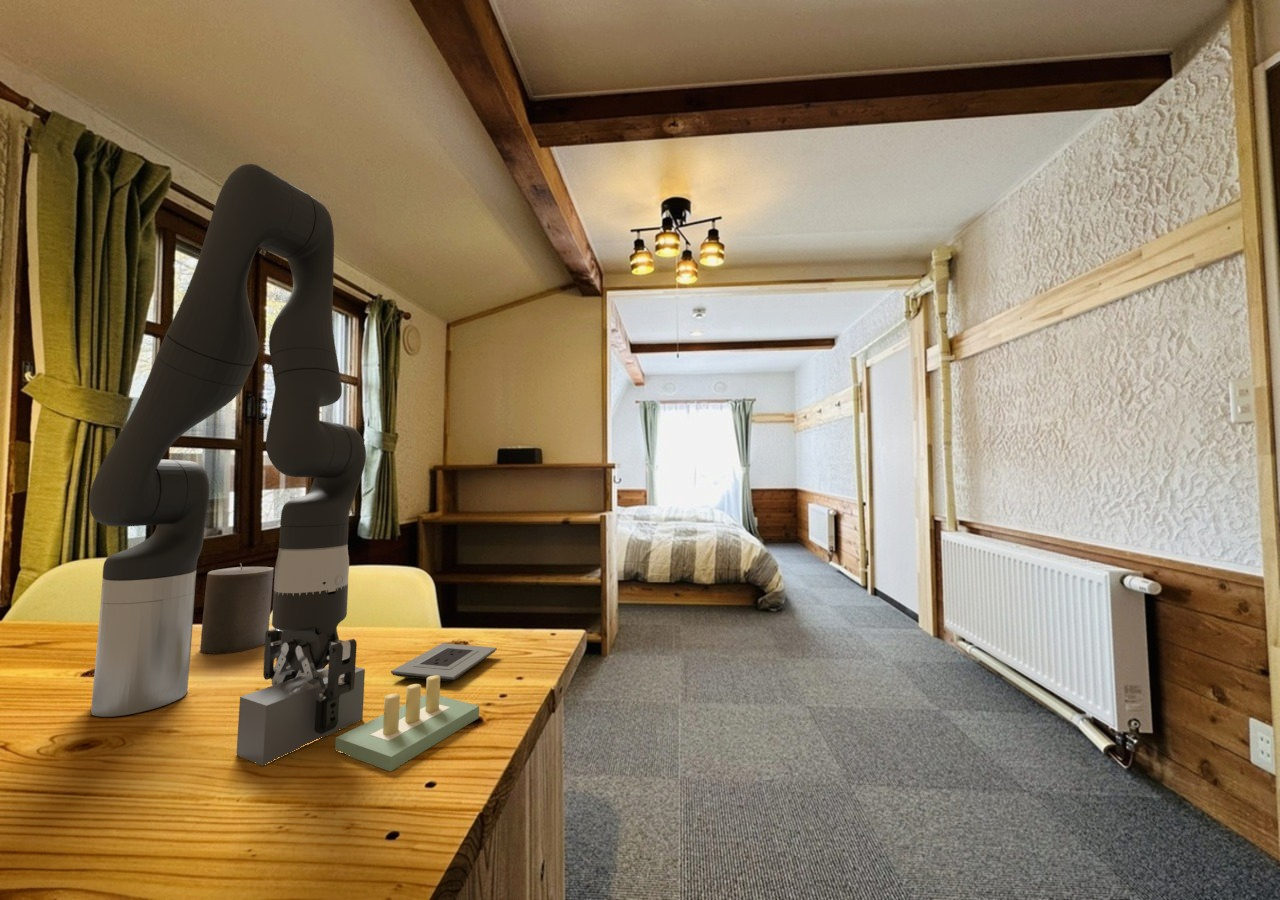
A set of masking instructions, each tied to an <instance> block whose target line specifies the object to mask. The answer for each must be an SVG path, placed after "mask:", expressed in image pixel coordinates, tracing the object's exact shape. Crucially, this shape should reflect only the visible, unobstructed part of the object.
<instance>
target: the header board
mask: <svg viewBox="0 0 1280 900" xmlns="http://www.w3.org/2000/svg"><path fill="white" fill-rule="evenodd" d="M425 689H426V690H425V694H423V695H422V694H421V692H422V685H421V684H419V683H413V684H409V685H407V686H406V695H405V703H404V704H402V705H400V703H401V694H399V693H390V694H387V695H385V696H384V699H383V701H384V702H383V714H382V715H380V716H377V717H375V718H374V719H371V720H369V721H367V722H365V723H363V724H361V725H359V726H357V727H354V728H353V729H351V730H349V731H346V732H345V733H343V734H342V733H341V734H340V735H338V736H336V737H335V747H334V751H335V750H337V751H341V752H343V753H346V754H347V755H350V756H351V757H350V758H352V757H353V758H352V759H355V758H356V759H355V760H359V761H361V762H364V763H366V764H368V765H372V766H375V767H377V768H379V769H383V770H385V771H388V772H392V771H394V770H396V769H398V768H399V767H401V766H403V765H404V764H406V763H407V762H409V761H410V760H412V759H414V758H416V757H417V756H419V755H421V754H422V753H424V752H425V751H426V750H429V749H430V748H431V747H433V746H435V745H437V744H438V743H440V742H441V741H444V740H445V739H446V738H449V736H451V735H453V734H455V733H456V732H458V731H459V730H462V729H464V727H466V726H468V725H469V724H471V723H473V722H475V721H476V720H478V719H479V718H480V705H477V704H474V703H469V702H466V701H462V700H458V699H454V698H450V697H447V696H443V695H442V696H441V695H440V691H441V681H440V676H438V675H434V676H430V677H428V678H427V679H426V688H425ZM421 695H422V696H421ZM347 755H346V756H347ZM408 760H409V761H408ZM405 762H406V763H405ZM400 765H401V766H400Z"/></svg>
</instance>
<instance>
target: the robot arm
mask: <svg viewBox="0 0 1280 900" xmlns="http://www.w3.org/2000/svg"><path fill="white" fill-rule="evenodd" d="M214 205H215V206H214V208H213V211H212V215H211V217H210V220H209V224H208V226H207V227H208V228H207V230H206V234H205V237H204V241H203V244H202V248H201V250H200V253H199V257H198V260H197V263H196V267H195V269H194V272H193V274H192V276H191V278H190V281H189V284H188V286H187V288H186V290H185V293H184V296H183V297H182V300H181V302H180V305H179V307H178V309H177V312H176V313H175V315H174V317H173V319H172V321H171V323H170V325H169V327H168V329H167V331H166V333H165V335H164V338H163V339H162V342H161V344H160V347H159V349H158V351H157V354H156V356H155V358H154V362H153V364H152V367H151V369H150V373H149V375H148V377H147V379H146V382H145V384H144V386H143V388H142V391H141V394H140V395H139V397H138V400H137V402H136V403H135V405H134V408H133V410H132V412H131V414H130V416H129V418H128V420H127V421H126V423H125V424H124V426H123V428H122V430H121V431H120V433H119V434H118V436H117V438H116V440H115V441H114V442H113V445H112V446H111V448H110V450H109V451H108V453H107V455H106V457H105V459H104V460H102V461H103V462H102V463H101V465H100V466H99V469H98V470H97V472H96V475H95V477H94V480H93V482H92V485H91V488H90V493H89V497H88V500H89V501H88V502H89V503H88V504H89V505H88V506H89V511H90V515H91V516H92V518H93V519H94V520H95V521H96V522H97V523H99V524H101V525H103V526H107V527H118V528H119V527H123V528H124V527H140V526H141V527H142V526H156V528H155V530H154V532H153V533H152V534H151V536H149V537H148V538H147V539H145V540H143V541H142V542H140V543H138V544H136V545H134V546H132V547H129V548H126V549H124V550H121V551H118V552H115V553H113V554H111V555H110V556H108V557H107V558H106V559H105V561H104V562H103V567H102V582H101V594H100V595H101V596H100V608H99V617H98V619H99V620H98V629H97V641H96V651H95V653H96V655H95V664H94V678H93V684H92V697H91V708H90V709H91V710H90V713H91V715H93V716H95V717H100V718H101V717H102V718H103V717H104V718H105V717H106V718H109V717H110V718H111V717H120V716H122V717H123V716H127V715H132V714H133V715H134V714H138V713H142V712H146V711H151V710H154V709H157V708H161V707H163V706H166V705H169V704H171V703H173V702H176V701H177V700H180V699H182V698H183V697H185V696H186V695H187V693H188V691H189V689H188V688H189V676H190V664H191V654H192V653H191V652H192V638H193V636H192V635H193V625H194V609H195V598H196V597H195V596H196V595H195V594H196V582H197V581H196V580H197V566H198V559H199V556H200V554H201V552H202V549H203V545H204V537H205V530H206V521H207V516H208V515H207V514H208V509H209V501H210V482H209V477H208V474H207V471H206V470H205V468H204V467H203V465H201V464H200V463H198V462H196V461H192V460H183V459H182V460H181V459H164V456H165V455H166V453H167V452H168V450H169V449H170V448H171V447H172V446H173V444H174V443H175V442H176V441H177V440H178V439H179V438H180V437H182V436H183V435H184V434H185V433H186V432H188V431H189V430H190V429H192V428H193V427H195V426H197V425H198V424H199V423H201V422H203V421H204V420H206V419H208V418H209V417H211V416H212V415H214V414H216V413H217V412H218V411H220V410H221V409H222V408H224V407H225V406H227V405H228V404H230V402H231V401H233V400H234V399H235V398H236V397H237V396H238V395H239V394H240V392H241V391H242V390H243V388H244V386H245V384H246V382H247V379H248V377H249V375H250V373H251V371H252V368H253V366H254V365H255V362H256V360H257V357H258V355H259V350H260V346H259V345H260V344H259V343H260V342H259V336H258V332H257V327H256V324H255V320H254V317H253V316H254V315H253V312H252V308H251V306H250V305H251V304H250V301H249V297H248V295H249V294H248V280H249V279H248V277H249V274H250V270H251V266H252V262H253V260H254V257H255V254H256V253H257V250H258V249H259V248H260V249H262V250H265V251H267V252H269V253H272V254H274V255H276V256H278V257H280V258H282V259H285V260H287V262H288V265H289V268H290V272H291V276H292V277H291V278H292V289H291V293H290V295H289V297H288V299H287V301H286V302H285V304H284V306H283V307H282V308H281V310H280V312H279V313H278V314H277V317H276V318H275V319H274V322H273V324H272V326H271V330H270V333H269V338H268V339H269V340H268V346H269V347H268V348H269V350H268V351H269V357H270V363H271V370H272V375H273V376H272V377H273V382H274V388H275V389H274V395H273V401H272V404H271V410H270V417H269V422H268V427H267V430H266V431H267V432H266V438H265V450H266V453H267V456H268V458H269V461H270V463H271V464H272V465H273V467H274V468H275V469H276V471H278V472H279V473H281V474H283V475H285V476H287V477H292V478H313V481H312V484H311V487H310V489H309V491H308V493H306V494H305V495H303V496H301V497H296V498H293V499H291V500H288V501H287V502H285V504H284V505H283V506H282V509H281V513H280V524H279V525H280V526H279V539H278V540H279V542H278V554H277V558H276V562H275V567H274V581H273V582H274V583H273V599H272V601H273V602H272V615H271V619H272V620H271V626H272V629H269V630H267V631H266V633H265V644H264V652H263V653H264V655H263V678H264V680H266V681H267V680H271V686H273V685H276V684H279V683H282V682H285V681H288V680H291V679H294V678H297V677H299V676H300V674H301V672H303V673H305V676H306V680H307V682H308V683H309V684H312V685H313V686H314V690H315V693H316V696H317V699H318V700H317V701H316V713H315V732H316V733H319V734H323V733H325V732H327V731H329V730H332V729H334V728H335V727H336V725H337V722H338V711H339V697H340V695H342V694H344V693H347V692H350V691H352V690H353V689H354V682H355V667H356V664H357V663H356V661H357V645H358V644H357V643H358V642H357V641H356V639H355V638H350V639H348V640H341V639H340V638H339V635H338V626H339V624H340V623H341V622H342V621H344V620H345V619H346V617H347V616H348V615H347V614H348V599H349V598H348V595H349V594H348V593H349V573H350V556H349V549H348V547H349V545H348V542H349V527H350V526H349V525H350V524H349V521H350V518H349V517H350V511H351V509H352V508H351V507H352V505H353V502H354V500H355V497H356V494H357V491H358V488H359V485H360V482H361V480H362V479H361V478H362V475H363V472H364V470H365V467H366V466H365V465H366V460H367V451H366V444H365V442H364V440H363V439H364V438H363V437H362V435H361V434H360V432H359V431H358V430H356V429H355V428H354V427H352V426H350V425H348V424H343V423H337V422H329V421H323V420H320V419H319V409H320V408H323V407H326V406H330V405H332V404H335V403H337V402H338V401H339V400H340V398H341V397H342V393H343V391H342V388H343V387H342V379H341V374H340V368H339V361H338V356H337V348H336V343H335V335H334V324H333V306H334V305H333V304H334V303H333V299H334V297H333V295H334V276H335V275H334V272H335V271H334V268H335V267H334V266H335V265H334V263H335V262H334V261H335V232H334V226H333V225H334V224H333V221H332V217H331V214H330V212H329V210H328V209H327V207H326V206H325V205H324V204H323V203H322V202H320V201H319V200H318V199H316V198H315V197H314V196H312V195H311V194H309V193H308V192H305V191H304V190H303V189H301V188H299V187H297V186H295V185H294V184H293V183H290V182H289V181H287V180H285V179H284V178H281V177H280V176H278V175H277V174H276V173H273V172H271V171H270V170H268V169H266V168H264V167H262V166H260V165H257V164H255V163H246V164H242V165H240V166H238V167H237V168H236V169H235V170H233V172H231V173H229V176H228V177H227V179H226V180H225V182H224V183H223V185H222V186H221V190H220V192H219V194H218V197H217V199H216V201H215V204H214ZM277 657H279V658H278V660H277V663H276V662H275V660H276V658H277ZM274 663H275V665H274ZM327 666H328V667H329V669H326V670H324V671H321V672H318V671H317V670H320V669H323V668H326V667H327ZM342 674H344V682H343V683H342V680H341V677H340V675H342ZM325 678H328V685H327V688H325V684H324V681H323V679H325Z"/></svg>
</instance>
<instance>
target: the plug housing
mask: <svg viewBox="0 0 1280 900" xmlns="http://www.w3.org/2000/svg"><path fill="white" fill-rule="evenodd" d="M326 669H329V666H325V668H323V669H320V670H317V671H318V672H321V671H324V670H326ZM340 677H341V680H342V683H343V682H344V674H342V675H340ZM365 677H366V669H365V668H363V667H358V666H355V682H354V689H353V690H352V691H350V692H347V693H344V694H342V695H340V697H339V711H338V722H337V725H336V727H335V728H334V729H332V730H329V731H327V732H325V733H323V734H319V733H316V732H315V713H316V701H317V700H318V699H317V696H316V693H315V690H314V686H313V685H312V684H309V683H308V682H307V680H306V676H305V675H302V676H299V677H297V678H294V679H291V680H288V681H285V682H282V683H279V684H276V685H273V686H272V685H271V686H267V687H264V688H262V689H258V690H256V691H253V692H250V693H247V694H244V695H241V696H239V706H238V707H239V709H238V720H237V721H238V722H237V738H236V753H235V754H237V755H239V756H241V757H243V758H242V759H244V758H245V759H244V760H246V759H248V760H250V761H249V762H251V761H252V762H251V763H253V762H254V763H253V764H255V762H256V763H257V764H256V765H258V764H260V765H262V766H263V765H265V764H267V763H268V762H271V761H273V760H274V759H277V758H278V757H281V756H283V755H285V754H287V753H290V752H292V751H294V750H296V749H298V748H300V747H301V746H303V745H305V744H307V743H310V742H312V741H314V740H316V739H319V738H321V737H324V736H327V735H329V736H331V735H333V734H335V733H337V732H339V731H338V730H339V729H342V730H344V729H345V727H346V728H348V727H349V726H348V725H350V726H352V725H354V724H356V723H355V722H357V721H359V720H361V719H363V718H364V717H363V716H364V701H365V700H364V696H365V694H364V693H365ZM323 681H324V684H325V688H327V685H328V678H325V679H323ZM361 721H362V720H361ZM359 722H360V721H359ZM353 723H354V724H353ZM357 723H358V722H357ZM351 724H352V725H351ZM347 726H348V727H347ZM343 728H344V729H343ZM336 731H337V732H336ZM334 732H335V733H334ZM332 733H333V734H332ZM330 734H331V735H330ZM327 737H328V736H327ZM237 755H236V756H237ZM239 756H238V757H239ZM241 757H240V758H241ZM248 760H247V761H248ZM260 765H259V766H260ZM267 765H268V764H267ZM262 766H261V767H262ZM265 766H266V765H265ZM263 767H264V766H263Z"/></svg>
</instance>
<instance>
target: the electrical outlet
mask: <svg viewBox="0 0 1280 900" xmlns="http://www.w3.org/2000/svg"><path fill="white" fill-rule="evenodd" d="M496 651H497V647H494V646H493V647H491V646H482V645H481V646H479V645H468V644H457V643H456V644H455V643H446V642H445V643H444V642H442V643H440V644H438V645H436V646H435V647H433V648H431V649H429V650H427V651H426V652H425V651H424V653H421V654H420V655H418V656H415V658H412V659H411V660H409V661H407V662H405V663H403V664H402V665H400V666H398V667H396V668H394V669H392V670H390V674H391V675H393V676H396V677H401V678H402V677H403V678H412V679H419V680H420V679H422V680H427V678H428V677H430V676H434V675H438V676H440V682H441V681H442V682H449V683H450V682H451V683H452V682H453V681H455V680H457V679H458V678H459V677H461V676H462V675H464V674H466V672H468V671H469V670H471V669H472V668H474V667H475V666H477V665H478V664H480V663H481V662H483V661H484V660H485V659H486V658H488V657H489V656H491V655H493V654H494V653H495V652H496Z"/></svg>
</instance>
